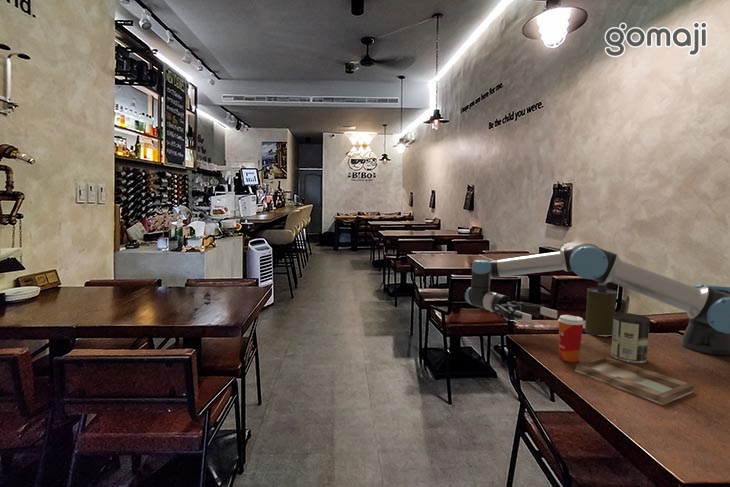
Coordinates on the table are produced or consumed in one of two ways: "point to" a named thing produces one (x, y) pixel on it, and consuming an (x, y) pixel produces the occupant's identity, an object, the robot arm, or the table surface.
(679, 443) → the table surface
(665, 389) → the seat pad
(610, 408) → the table surface
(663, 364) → the table surface
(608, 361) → the keyhole slot
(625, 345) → the coffee can
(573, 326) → the paper cup
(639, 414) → the table surface
